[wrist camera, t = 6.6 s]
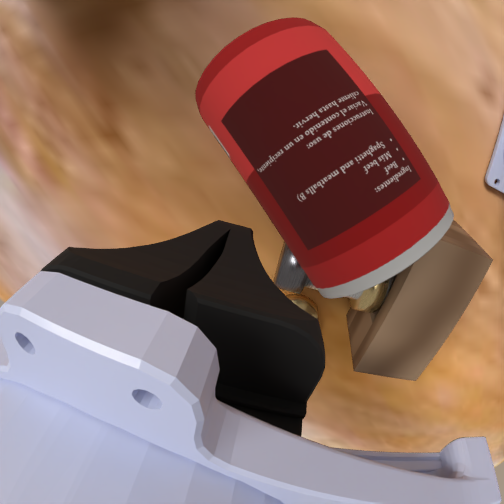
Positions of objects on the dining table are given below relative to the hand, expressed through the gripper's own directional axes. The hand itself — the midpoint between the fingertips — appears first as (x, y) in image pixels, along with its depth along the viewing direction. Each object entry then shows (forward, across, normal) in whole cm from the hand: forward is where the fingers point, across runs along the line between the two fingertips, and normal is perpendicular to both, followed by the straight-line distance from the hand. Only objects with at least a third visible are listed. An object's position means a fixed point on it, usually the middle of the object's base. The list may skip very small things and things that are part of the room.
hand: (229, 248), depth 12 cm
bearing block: (+10, -12, +4) cm, 16 cm away
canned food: (+6, +1, -7) cm, 10 cm away
